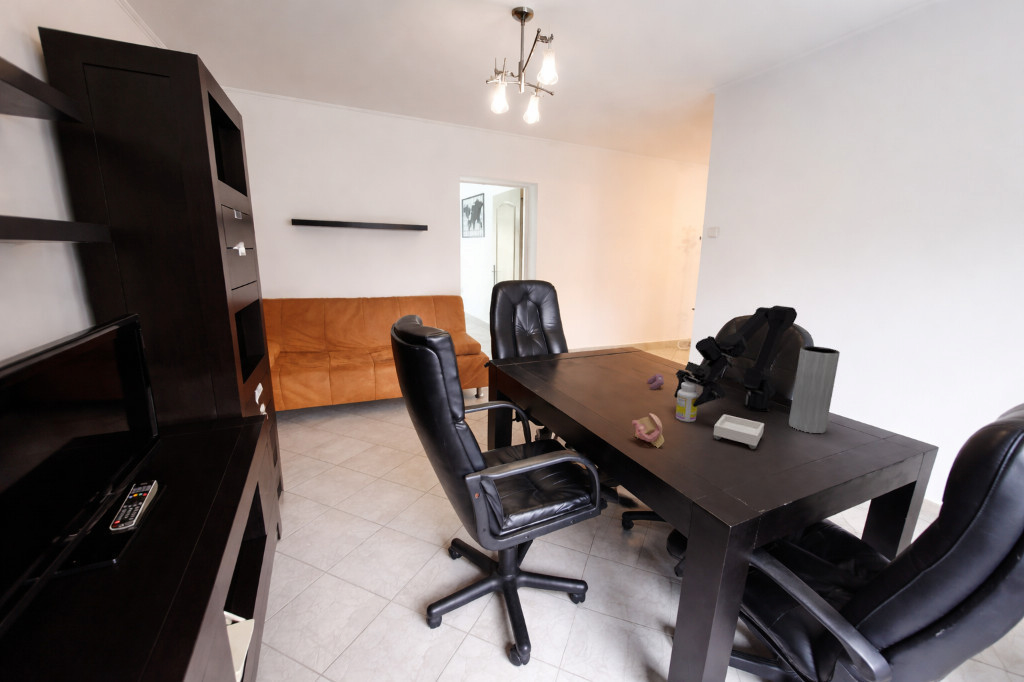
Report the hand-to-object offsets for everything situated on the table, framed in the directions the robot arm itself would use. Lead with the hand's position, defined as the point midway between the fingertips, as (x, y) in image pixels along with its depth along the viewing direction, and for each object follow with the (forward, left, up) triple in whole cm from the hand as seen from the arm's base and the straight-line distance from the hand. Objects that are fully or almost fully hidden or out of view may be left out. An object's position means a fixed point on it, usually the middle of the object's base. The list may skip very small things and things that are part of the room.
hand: (684, 401), depth 138 cm
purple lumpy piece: (+8, -35, -7) cm, 36 cm away
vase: (-39, -5, -7) cm, 40 cm away
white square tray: (-15, +11, -7) cm, 20 cm away
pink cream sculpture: (+12, +22, -7) cm, 26 cm away
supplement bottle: (-1, -1, -7) cm, 7 cm away
